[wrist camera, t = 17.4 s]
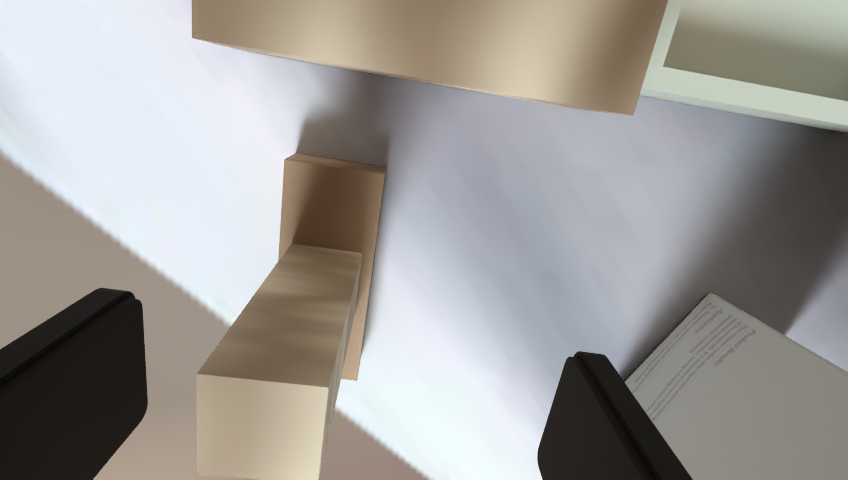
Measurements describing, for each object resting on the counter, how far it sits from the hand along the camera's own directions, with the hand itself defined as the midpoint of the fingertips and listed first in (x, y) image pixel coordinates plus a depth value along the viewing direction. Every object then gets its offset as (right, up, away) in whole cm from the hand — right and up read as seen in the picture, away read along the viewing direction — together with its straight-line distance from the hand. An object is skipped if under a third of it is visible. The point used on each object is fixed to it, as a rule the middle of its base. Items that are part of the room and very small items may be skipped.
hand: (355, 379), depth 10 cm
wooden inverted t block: (-3, +2, +11) cm, 12 cm away
